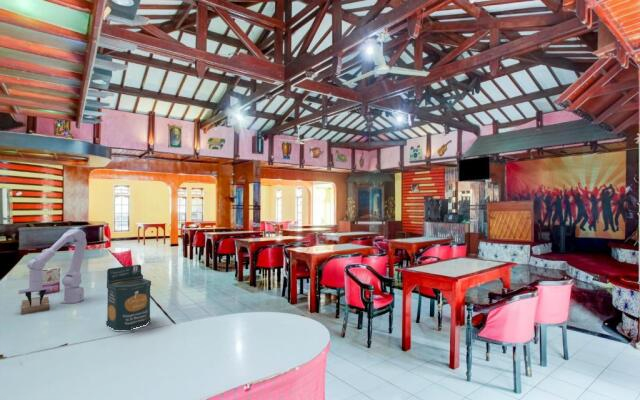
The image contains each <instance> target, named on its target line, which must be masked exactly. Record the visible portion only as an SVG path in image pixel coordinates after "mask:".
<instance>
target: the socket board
mask: <svg viewBox="0 0 640 400" xmlns="http://www.w3.org/2000/svg"><path fill="white" fill-rule="evenodd" d="M21 301H22V302H21V308H20V315H21V316H22V315H27V314H34V313H35V314H36V313H41V312H45V311H47V312H48V311H50V308H51V307H50V305H51V304H50V299H49V296H45V297H43V299H42V302H41V304H40V306H34V307H31V306H30V303H29V300H28V299H23V300H21Z"/></svg>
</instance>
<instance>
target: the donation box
mask: <svg viewBox="0 0 640 400" xmlns="http://www.w3.org/2000/svg"><path fill="white" fill-rule="evenodd" d="M106 273H107V274H106V289H107V308H106V309H107V310H106V311H107V316H106V317H107V319H106V321H105V325H107V326H106V327H108V326H109V327H111V328H113V329H114V330H131V329H133V328H136V327H140V326H143V325H146V324H147V323H148V322H150V321H152V319H151V286H152V281H151V280H149V279H145V278H144V275H143V273H142V265H141V264H134V265H133V264H132V265H127V266H119V267H112V268H108V269H107V270H106ZM150 323H151V322H150ZM109 327H108V328H109ZM111 328H110V329H111ZM114 330H113V331H114ZM131 331H132V330H131Z"/></svg>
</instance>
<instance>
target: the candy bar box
mask: <svg viewBox="0 0 640 400" xmlns="http://www.w3.org/2000/svg"><path fill="white" fill-rule="evenodd" d="M60 270H61V269H60V267H51V268H49V267H48V268H43V282H42V287H48V286H52V290H46V293H45V295H48V294H49V295H50V294H54V293H55V294H56V293H60V291H61V287H60V286H61V285H60V284H61V283H60V282H61V281H60V279H61V276H60V275H61V271H60ZM37 295H38V296H40V291H38V292H37Z"/></svg>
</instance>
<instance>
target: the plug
mask: <svg viewBox="0 0 640 400" xmlns="http://www.w3.org/2000/svg"><path fill="white" fill-rule="evenodd" d="M34 306H40V296H35V297H31V307H34Z"/></svg>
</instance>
